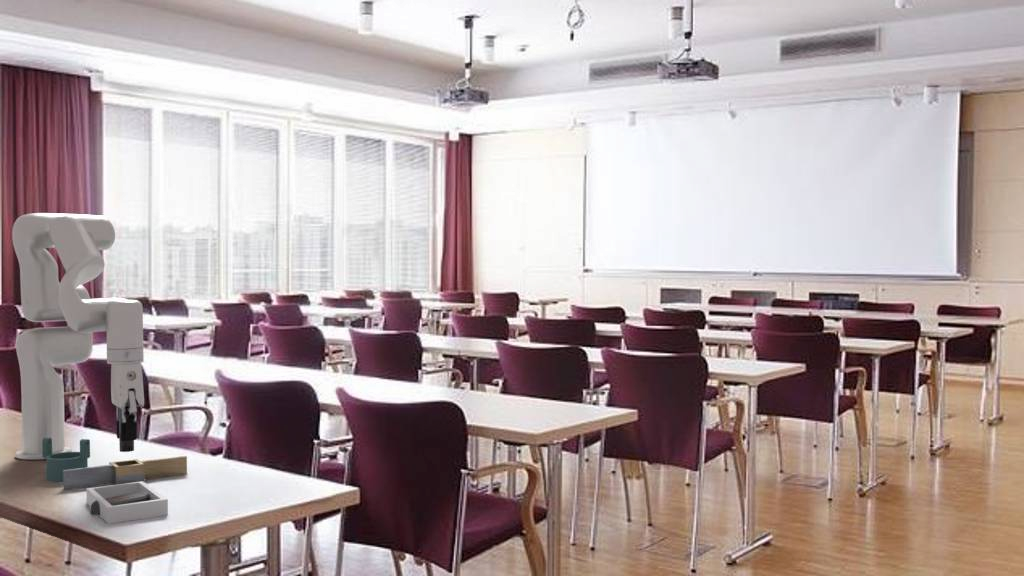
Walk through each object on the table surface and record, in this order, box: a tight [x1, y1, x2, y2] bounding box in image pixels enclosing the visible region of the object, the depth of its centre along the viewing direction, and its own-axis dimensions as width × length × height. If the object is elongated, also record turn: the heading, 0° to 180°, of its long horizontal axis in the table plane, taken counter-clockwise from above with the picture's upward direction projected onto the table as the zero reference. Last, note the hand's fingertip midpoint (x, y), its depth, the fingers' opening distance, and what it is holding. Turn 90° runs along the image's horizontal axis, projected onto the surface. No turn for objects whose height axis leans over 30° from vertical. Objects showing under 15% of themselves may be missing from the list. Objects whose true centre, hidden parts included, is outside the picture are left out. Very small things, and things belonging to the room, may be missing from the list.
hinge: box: [62, 455, 188, 490], centre depth 220 cm, size 26×6×4 cm, turn 125°
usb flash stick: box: [90, 491, 150, 517], centre depth 196 cm, size 5×12×3 cm, turn 146°
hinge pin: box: [118, 406, 135, 453], centre depth 219 cm, size 3×3×10 cm
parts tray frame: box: [85, 481, 169, 524], centre depth 196 cm, size 18×11×3 cm, turn 35°
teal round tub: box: [42, 438, 91, 483], centre depth 223 cm, size 9×9×9 cm
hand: (126, 438), depth 219 cm, fingers closed on hinge pin, 3 cm apart
